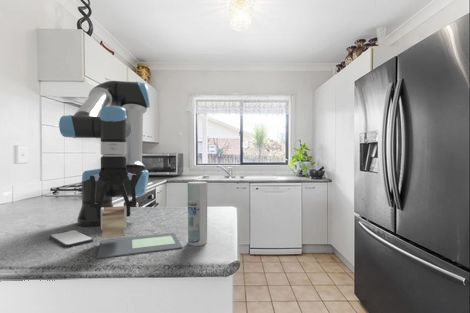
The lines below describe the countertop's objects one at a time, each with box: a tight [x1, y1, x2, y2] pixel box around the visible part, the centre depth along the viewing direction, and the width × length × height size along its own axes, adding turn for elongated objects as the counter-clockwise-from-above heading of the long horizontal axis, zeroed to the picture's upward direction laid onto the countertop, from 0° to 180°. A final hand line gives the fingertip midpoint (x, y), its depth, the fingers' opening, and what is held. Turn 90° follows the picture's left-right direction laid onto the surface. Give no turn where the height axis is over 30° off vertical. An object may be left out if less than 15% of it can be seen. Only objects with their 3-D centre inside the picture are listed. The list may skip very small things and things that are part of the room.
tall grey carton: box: [187, 180, 208, 247], centre depth 91 cm, size 6×6×20 cm
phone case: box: [49, 229, 94, 249], centre depth 94 cm, size 9×2×16 cm
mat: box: [96, 232, 183, 260], centre depth 89 cm, size 17×24×1 cm
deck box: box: [101, 205, 125, 239], centre depth 88 cm, size 10×6×7 cm, turn 21°
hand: (114, 227), depth 88 cm, fingers closed on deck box, 6 cm apart
